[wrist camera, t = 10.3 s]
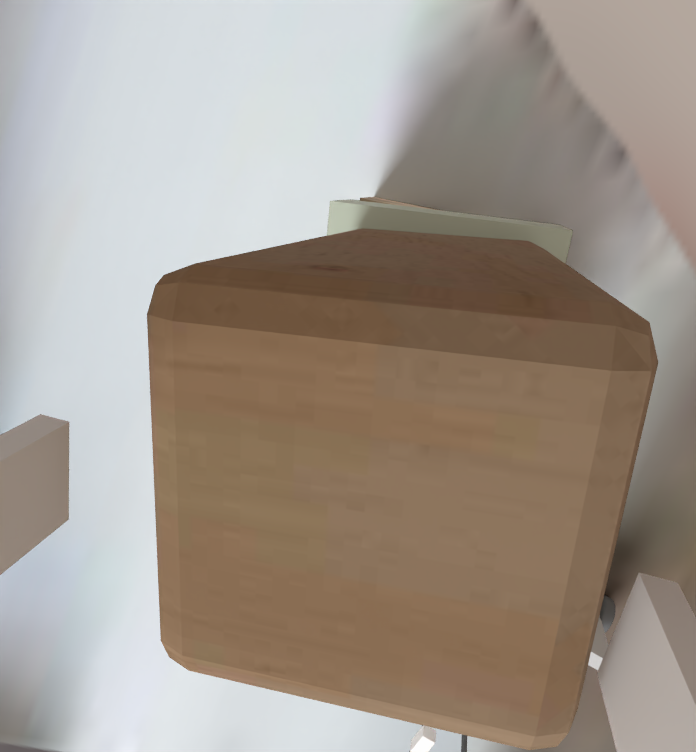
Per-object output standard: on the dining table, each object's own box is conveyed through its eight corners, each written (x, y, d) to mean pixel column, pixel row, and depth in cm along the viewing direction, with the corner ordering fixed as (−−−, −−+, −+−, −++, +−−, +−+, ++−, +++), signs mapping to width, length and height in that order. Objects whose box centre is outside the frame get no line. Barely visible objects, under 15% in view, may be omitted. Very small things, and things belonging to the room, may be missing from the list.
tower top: (330, 388, 38) (310, 415, 33) (350, 199, 34) (330, 200, 30) (516, 421, 36) (521, 455, 31) (559, 224, 32) (573, 230, 28)
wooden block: (346, 226, 30) (122, 264, 11) (548, 241, 28) (690, 318, 9) (336, 407, 33) (145, 679, 14) (517, 432, 31) (576, 784, 12)
